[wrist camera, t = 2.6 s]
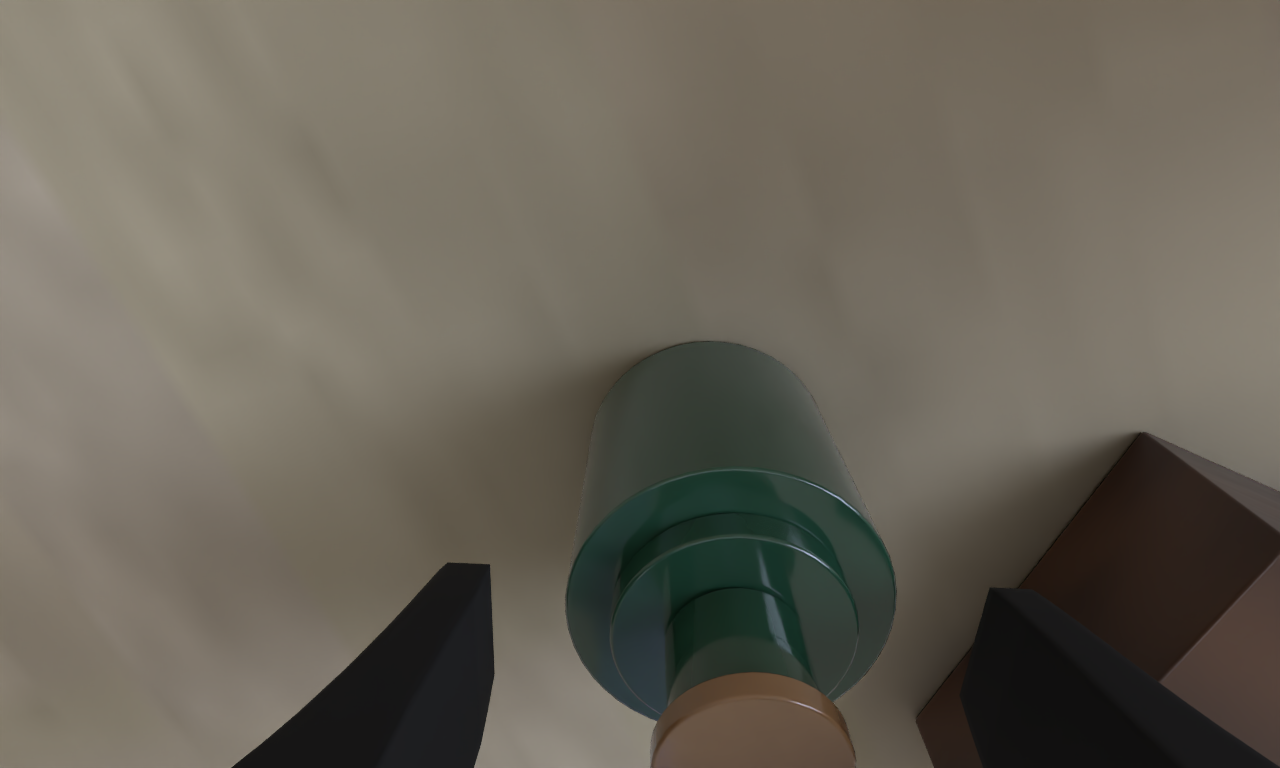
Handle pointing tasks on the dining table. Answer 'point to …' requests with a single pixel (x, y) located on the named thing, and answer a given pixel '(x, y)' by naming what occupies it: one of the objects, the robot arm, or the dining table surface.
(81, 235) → the dining table surface
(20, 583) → the dining table surface
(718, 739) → the bottle
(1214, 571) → the block
